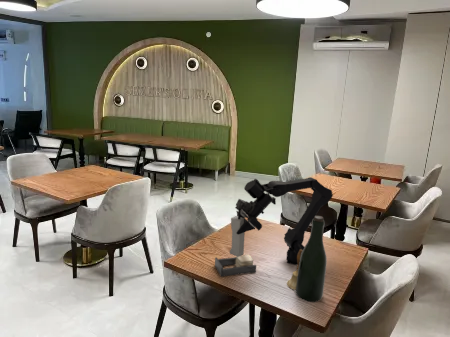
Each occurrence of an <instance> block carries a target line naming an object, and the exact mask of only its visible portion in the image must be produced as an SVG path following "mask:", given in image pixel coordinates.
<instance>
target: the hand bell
mask: <svg viewBox="0 0 450 337" xmlns="http://www.w3.org/2000/svg"><path fill="white" fill-rule="evenodd" d="M302 251H303V250H302V249H300V250H299V252H298V255H297V263H298V264H297V265H296V270H294V271H292V274H291V278H290V279H288V280H287V281H286V286H287V287H288V288H289V289H291V290H292V291H293V290H294V291H295V290H296V281H297V274H298V268H299V261H300V256H301V253H302Z"/></svg>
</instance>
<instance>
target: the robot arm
mask: <svg viewBox="0 0 450 337" xmlns="http://www.w3.org/2000/svg"><path fill="white" fill-rule="evenodd" d="M306 189H310V190H312V194H311V201H310V203H309V204H308V207H307V208H306V209H305V211H303V214H302V215H301V217H300V218H299V221H298V222H297V223H296V225H295V227H293V228H290V227H289V228H288V229H287V231H286V233H284V237H283V239H284V240H283V241H284V243H286V246H287V247H288V249H287V251H286V263H287V264H291V265H296V266H297V264H298V263H297V255H298V252H299V250H300V249H302V250H303V249H304V247H305V245H303V242H304V241H305V233H306V231H308V229H309V227H310V225H311V224H312V221H313V219H314V217H315V216H317V214H318V212H319V210H320V209H321V208H322V207H323V206H325V205H326V204H328V203H329V201H331V199H332V198H333V196H334V194H333V191H332V190H331V189H330V188H328V187H326V186H325V185H323V184H321V183H320V182H319V181H318V180H317V178H313V177H306V178H302V179H296V180H289V181H280V180H270V181H269V182H268V183H264V184H262V183H261V182H260V181H259V180H258V179H257V178H254V179H252V180H250V181H248V182H247V183H246V184H245V185H244V191H245V192H247V194H248V195H249V196H250V197H251V198H252V199H254V200H250V201H249V202H248V201H246V200H243V199H241V198H238V200H237V202H236V204H235V207H234V208H235V209H236V216H238V211H239V209H240V217H241V218H244V223H243V225H242V226H241V227H240V228H239V230H238V231H237V234H238V235H239V234H241V233H244V232H245V233H246V232H249V231H253V230H257V231H260V230H261V229H262V228H263V224H262V223H261V221H259V220H258V217H259V216H260V215H261V214H262V215H264V213H265V209H266V208H268V206H269V205H270V204H271V203H272V204H273V205H276V204H277V200H276V198H279V197H283V196H285V195H287V193H290V192H296V191H300V190H306ZM265 192H266V193H265ZM271 195H272V196H271ZM239 200H240V202H239Z"/></svg>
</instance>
